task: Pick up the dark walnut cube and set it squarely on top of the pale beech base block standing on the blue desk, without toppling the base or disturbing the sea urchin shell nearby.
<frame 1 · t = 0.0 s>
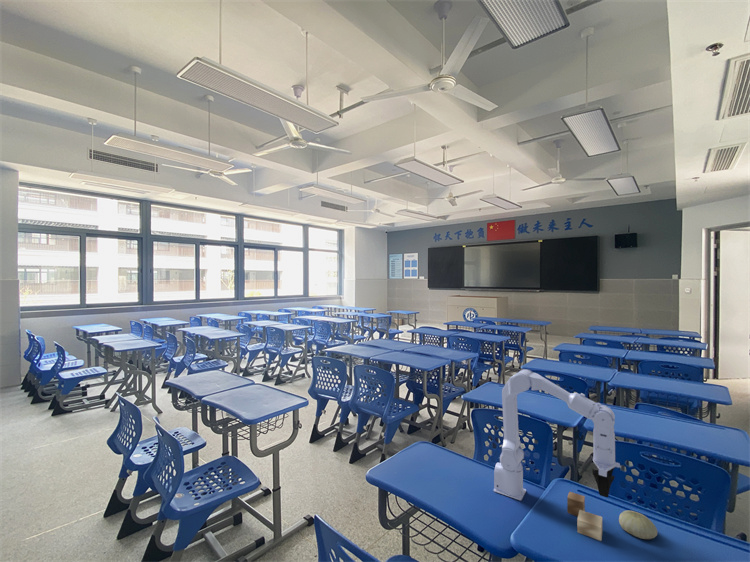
hand: (604, 490, 108), 10 cm above the table, fingers open, 7 cm apart
sea urchin shell: (637, 532, 104), on the table
beech base: (590, 531, 104), on the table
walnut block: (576, 512, 113), on the table
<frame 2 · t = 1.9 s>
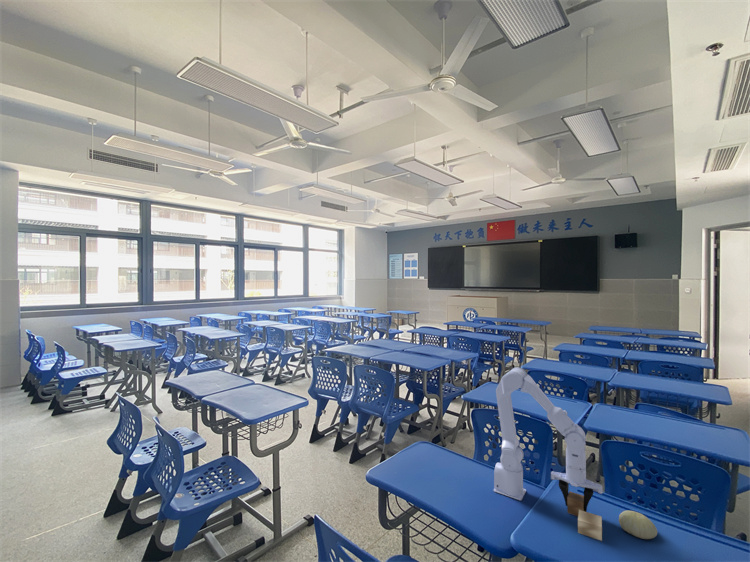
hand: (576, 507, 113), 1 cm above the table, fingers closed on walnut block, 4 cm apart
walnut block: (576, 512, 113), on the table, touching gripper
everything else where it was.
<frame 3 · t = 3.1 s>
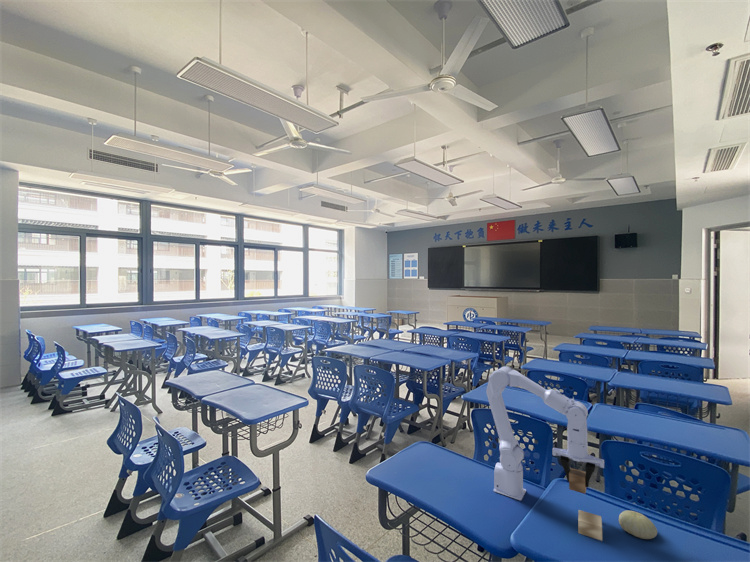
hand: (577, 483, 112), 10 cm above the table, fingers closed on walnut block, 4 cm apart
walnut block: (577, 488, 112), point 8 cm above the table, touching gripper
everything else where it was.
when the fingers open (7 cm above the table, at t = 4.6 s): walnut block drops 1 cm, resting on beech base.
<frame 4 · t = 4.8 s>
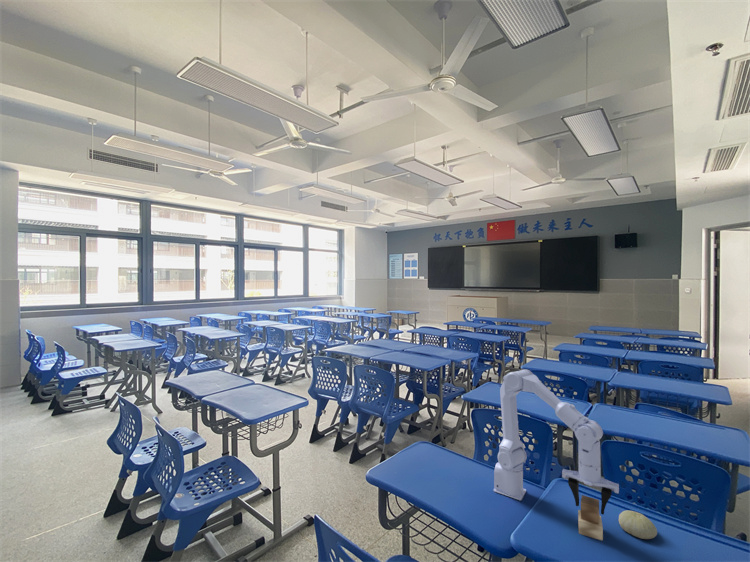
hand: (589, 508, 104), 7 cm above the table, fingers open, 6 cm apart
beech base: (590, 531, 104), on the table, touching walnut block
walnut block: (590, 517, 104), point 4 cm above the table, touching beech base
everything else where it was.
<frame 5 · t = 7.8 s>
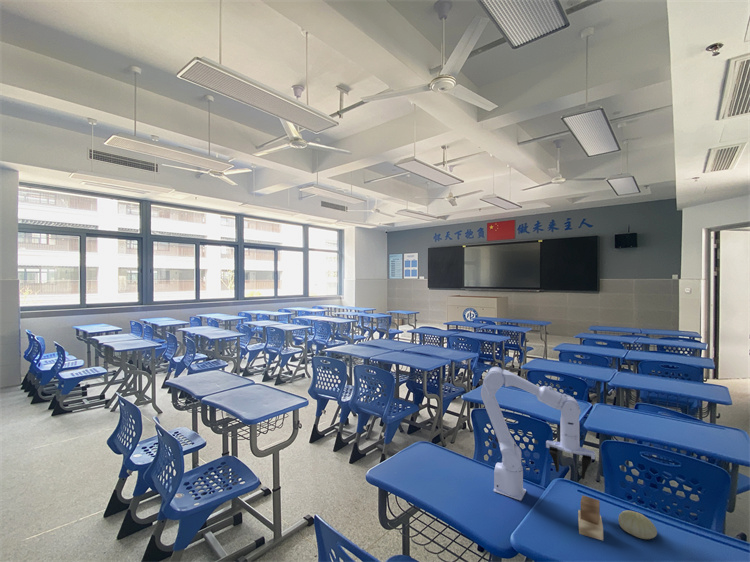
hand: (570, 474, 117), 10 cm above the table, fingers open, 7 cm apart
nothing on the table moved.
at the end: walnut block 0.1 cm off-centre on the beech base, point 4.0 cm above the beech base's base; beech base tilted 0°; walnut block tilted 0° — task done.
